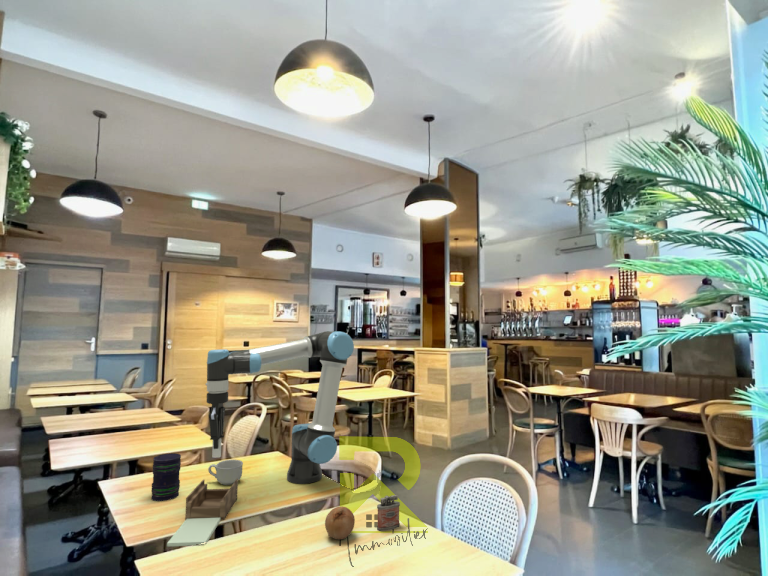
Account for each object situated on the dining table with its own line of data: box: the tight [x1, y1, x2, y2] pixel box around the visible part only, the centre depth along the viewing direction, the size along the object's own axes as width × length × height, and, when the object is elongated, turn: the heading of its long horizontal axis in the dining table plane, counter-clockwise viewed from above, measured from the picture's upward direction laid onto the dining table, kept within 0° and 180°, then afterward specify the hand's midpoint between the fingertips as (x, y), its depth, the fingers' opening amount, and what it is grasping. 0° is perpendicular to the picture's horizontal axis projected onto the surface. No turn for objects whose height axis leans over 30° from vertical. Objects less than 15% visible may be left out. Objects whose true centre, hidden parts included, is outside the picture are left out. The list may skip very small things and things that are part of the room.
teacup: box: [207, 459, 244, 486], centre depth 185 cm, size 14×11×8 cm
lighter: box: [376, 494, 401, 532], centre depth 145 cm, size 8×3×10 cm, turn 115°
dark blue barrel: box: [151, 452, 182, 502], centre depth 170 cm, size 10×10×15 cm
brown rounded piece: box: [324, 506, 356, 541], centre depth 138 cm, size 10×9×10 cm
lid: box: [166, 518, 222, 547], centre depth 140 cm, size 17×11×2 cm, turn 6°
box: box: [184, 479, 239, 521], centre depth 158 cm, size 18×13×8 cm
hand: (216, 456), depth 160 cm, fingers closed
